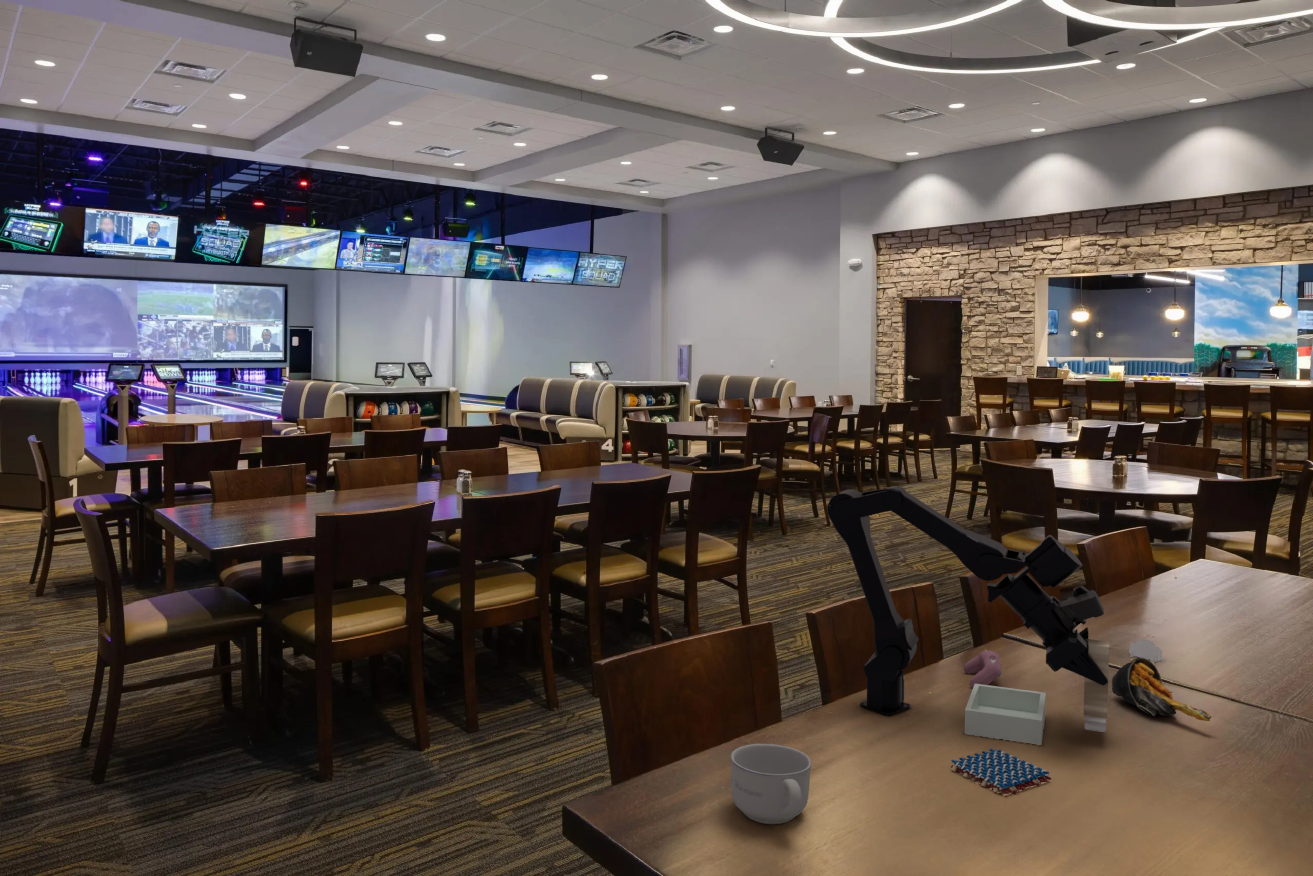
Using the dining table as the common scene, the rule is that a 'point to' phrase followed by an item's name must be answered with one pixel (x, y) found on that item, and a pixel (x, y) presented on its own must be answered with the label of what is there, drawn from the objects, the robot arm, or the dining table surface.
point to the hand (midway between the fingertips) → (1105, 680)
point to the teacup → (770, 782)
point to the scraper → (1097, 689)
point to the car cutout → (1145, 650)
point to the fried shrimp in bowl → (1149, 690)
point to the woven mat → (1000, 771)
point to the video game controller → (984, 668)
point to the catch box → (1006, 714)
